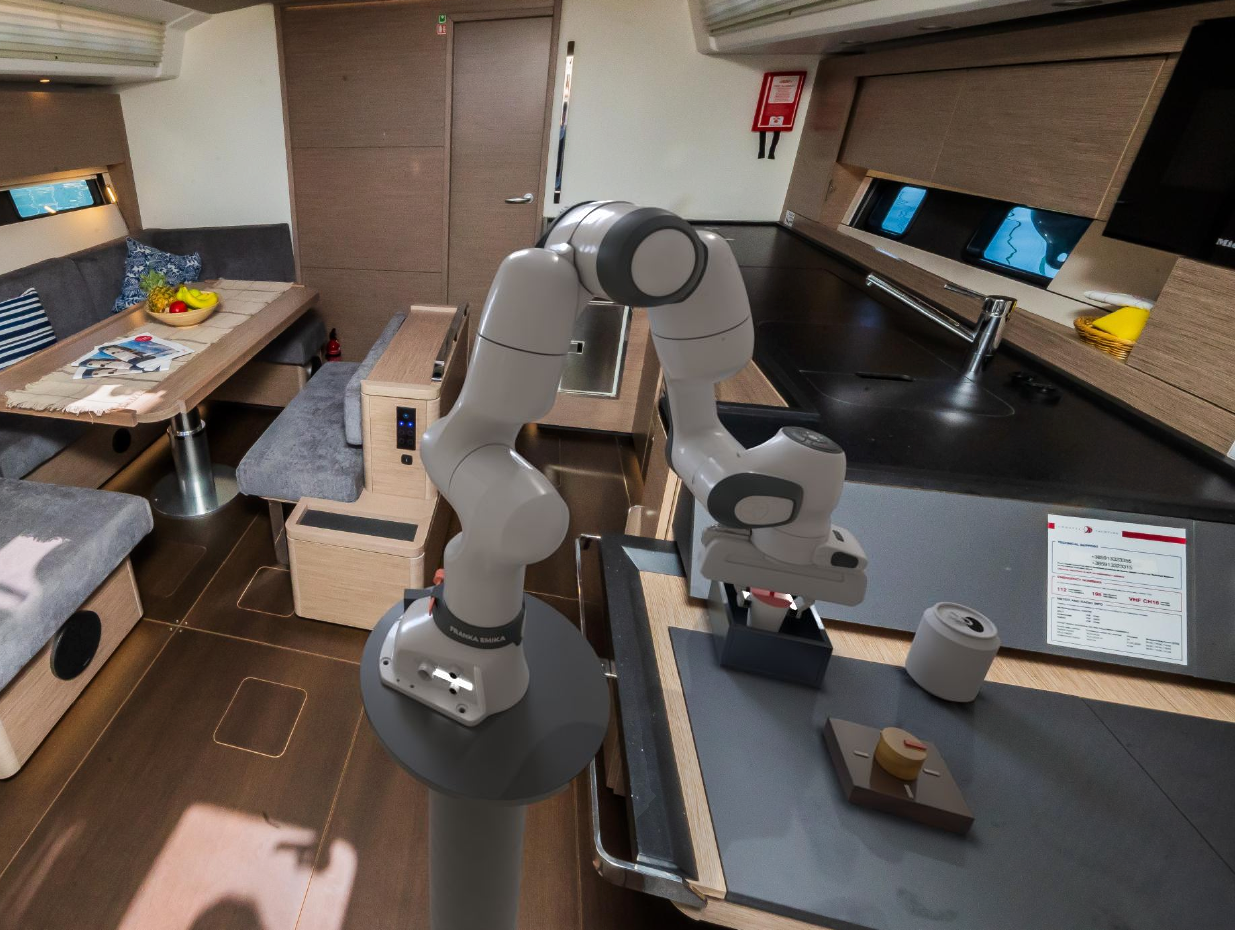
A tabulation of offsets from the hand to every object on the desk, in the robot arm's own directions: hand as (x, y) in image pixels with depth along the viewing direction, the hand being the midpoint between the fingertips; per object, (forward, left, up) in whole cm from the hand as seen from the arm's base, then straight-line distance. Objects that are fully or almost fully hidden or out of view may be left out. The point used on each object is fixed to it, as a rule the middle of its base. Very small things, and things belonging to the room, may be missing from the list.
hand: (767, 609), depth 86 cm
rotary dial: (+10, -18, -7) cm, 22 cm away
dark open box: (0, 0, -7) cm, 7 cm away
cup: (0, 0, -6) cm, 6 cm away
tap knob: (+10, -18, -4) cm, 21 cm away
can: (+22, 0, -7) cm, 23 cm away
